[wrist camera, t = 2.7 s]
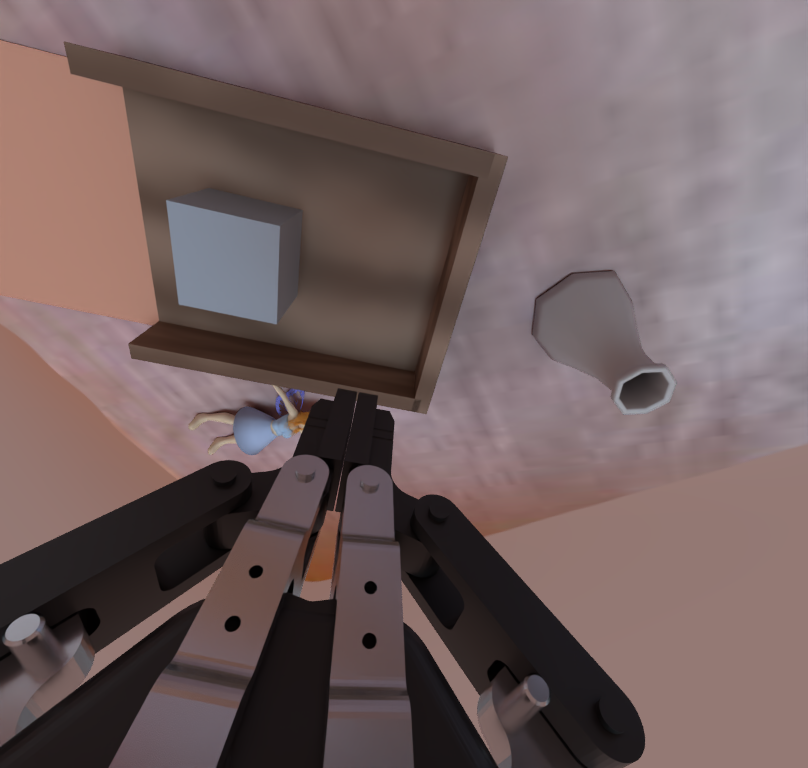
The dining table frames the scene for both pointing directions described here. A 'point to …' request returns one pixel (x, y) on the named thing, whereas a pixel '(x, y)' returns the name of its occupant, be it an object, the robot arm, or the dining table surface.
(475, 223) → the walnut cubby
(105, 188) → the terracotta mat
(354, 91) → the dining table surface
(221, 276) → the slate block
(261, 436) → the fairy figurine
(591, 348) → the flask
